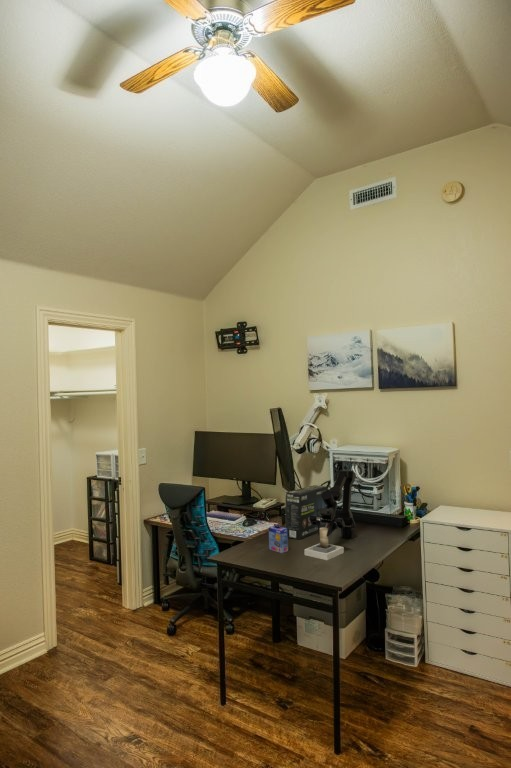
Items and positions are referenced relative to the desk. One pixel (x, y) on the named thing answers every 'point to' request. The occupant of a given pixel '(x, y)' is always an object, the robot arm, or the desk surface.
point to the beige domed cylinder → (323, 538)
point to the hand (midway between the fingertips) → (323, 535)
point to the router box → (303, 510)
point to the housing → (324, 551)
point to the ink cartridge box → (278, 539)
